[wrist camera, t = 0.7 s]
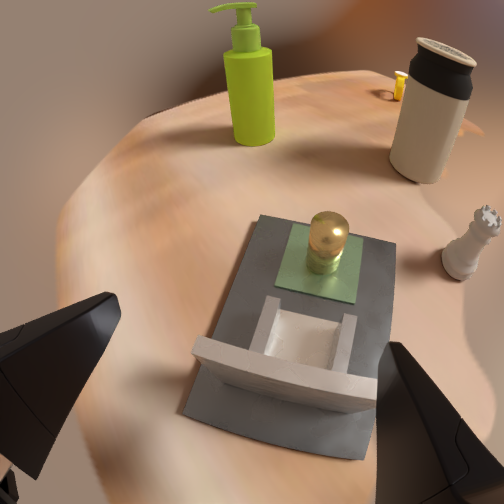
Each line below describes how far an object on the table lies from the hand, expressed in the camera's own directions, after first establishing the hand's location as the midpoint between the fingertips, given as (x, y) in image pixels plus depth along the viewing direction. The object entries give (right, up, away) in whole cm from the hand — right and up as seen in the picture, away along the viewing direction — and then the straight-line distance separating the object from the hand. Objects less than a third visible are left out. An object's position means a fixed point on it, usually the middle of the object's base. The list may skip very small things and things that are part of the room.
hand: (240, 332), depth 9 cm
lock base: (+5, -4, +15) cm, 16 cm away
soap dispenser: (0, +19, +31) cm, 37 cm away
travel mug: (+23, +14, +26) cm, 37 cm away
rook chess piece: (+22, +1, +17) cm, 28 cm away
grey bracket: (+4, -6, +12) cm, 14 cm away
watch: (+30, +34, +39) cm, 60 cm away
